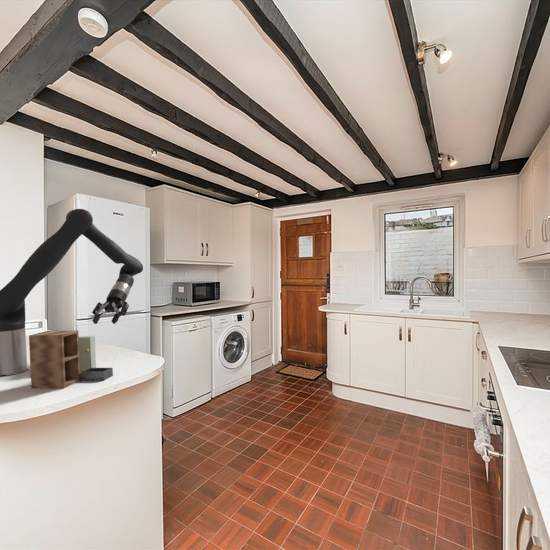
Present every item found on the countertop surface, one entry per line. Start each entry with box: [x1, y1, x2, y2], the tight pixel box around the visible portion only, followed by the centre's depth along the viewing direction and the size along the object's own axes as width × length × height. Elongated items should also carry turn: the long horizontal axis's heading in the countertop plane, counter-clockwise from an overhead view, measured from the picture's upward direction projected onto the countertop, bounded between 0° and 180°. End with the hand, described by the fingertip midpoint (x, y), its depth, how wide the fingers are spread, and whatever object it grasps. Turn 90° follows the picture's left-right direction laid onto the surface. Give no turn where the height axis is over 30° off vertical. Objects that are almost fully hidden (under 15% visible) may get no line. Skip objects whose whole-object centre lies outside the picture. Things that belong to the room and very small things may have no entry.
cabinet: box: [28, 330, 80, 389], centre depth 107 cm, size 12×8×18 cm, turn 84°
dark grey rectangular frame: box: [79, 367, 114, 381], centre depth 112 cm, size 9×5×3 cm, turn 84°
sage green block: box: [79, 335, 97, 373], centre depth 119 cm, size 6×4×14 cm, turn 84°
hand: (103, 322), depth 130 cm, fingers open, 8 cm apart
